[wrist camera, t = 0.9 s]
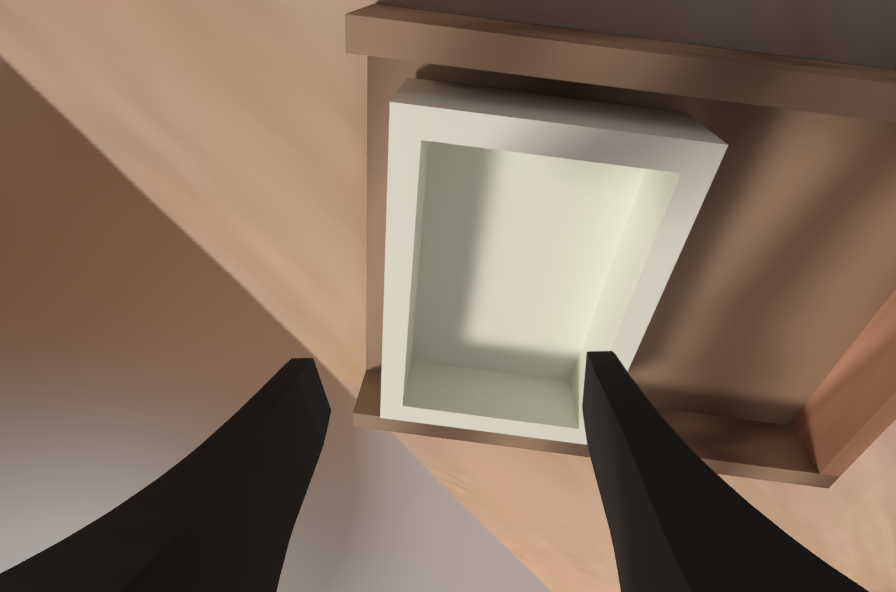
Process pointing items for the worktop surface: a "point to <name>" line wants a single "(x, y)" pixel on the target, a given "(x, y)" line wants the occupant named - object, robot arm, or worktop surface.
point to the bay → (703, 233)
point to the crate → (526, 248)
